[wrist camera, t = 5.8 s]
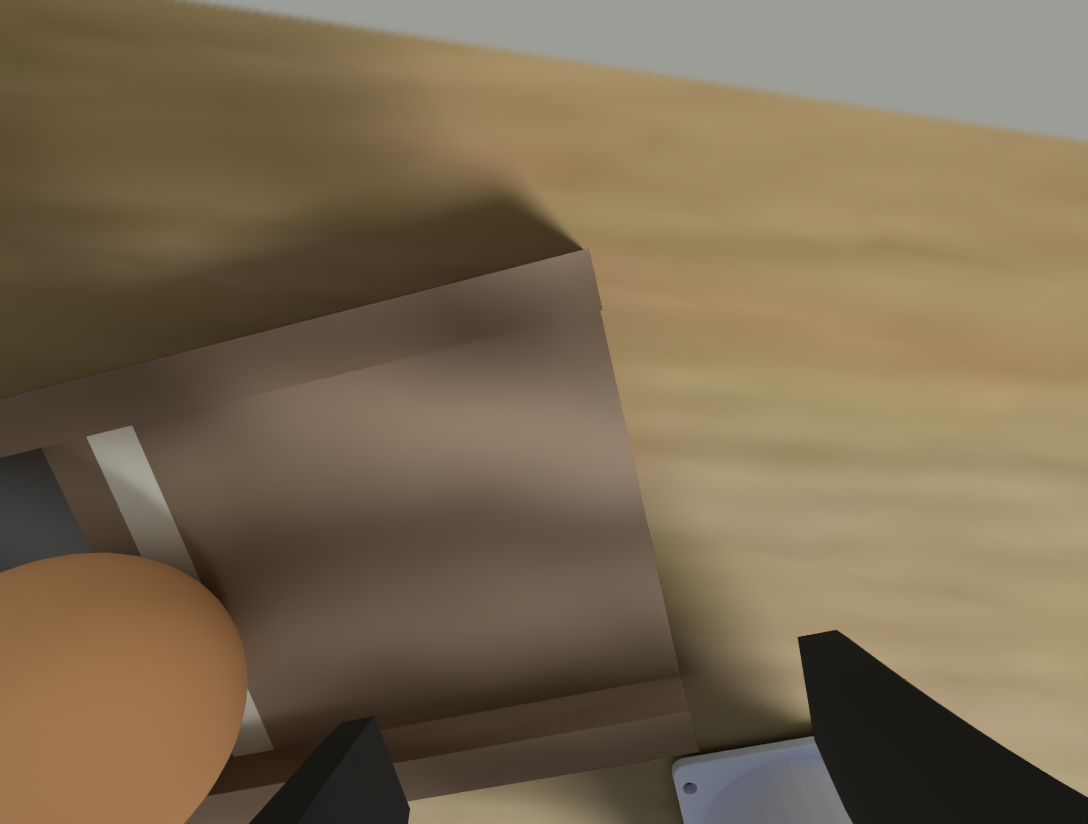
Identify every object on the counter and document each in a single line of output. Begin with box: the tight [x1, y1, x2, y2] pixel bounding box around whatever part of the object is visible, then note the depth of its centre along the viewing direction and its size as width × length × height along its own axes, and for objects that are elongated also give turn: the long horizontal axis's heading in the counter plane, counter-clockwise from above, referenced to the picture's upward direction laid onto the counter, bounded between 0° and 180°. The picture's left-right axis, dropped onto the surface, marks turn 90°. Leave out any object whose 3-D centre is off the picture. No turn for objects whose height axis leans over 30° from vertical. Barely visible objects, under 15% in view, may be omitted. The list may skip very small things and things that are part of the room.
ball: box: [0, 553, 248, 824], centre depth 15 cm, size 8×8×8 cm
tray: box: [0, 248, 699, 824], centre depth 17 cm, size 15×28×6 cm, turn 104°
